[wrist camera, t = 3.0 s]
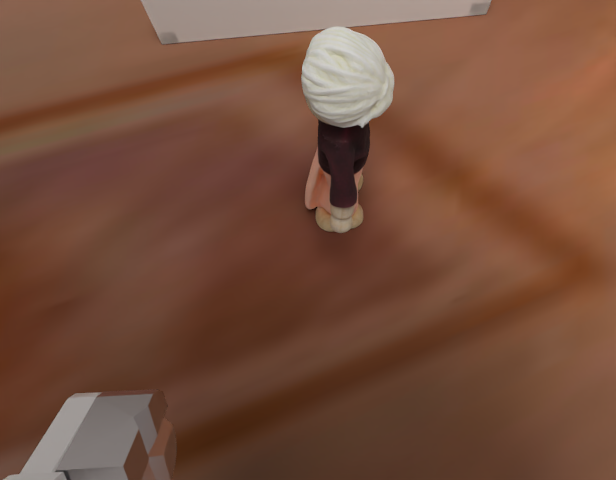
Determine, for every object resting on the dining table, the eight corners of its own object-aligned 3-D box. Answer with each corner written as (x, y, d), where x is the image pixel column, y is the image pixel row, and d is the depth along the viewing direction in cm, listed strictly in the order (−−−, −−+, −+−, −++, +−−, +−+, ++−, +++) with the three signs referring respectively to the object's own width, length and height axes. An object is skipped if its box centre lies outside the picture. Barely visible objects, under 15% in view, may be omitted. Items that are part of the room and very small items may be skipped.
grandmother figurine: (299, 151, 28) (273, -31, 17) (361, 143, 28) (380, -45, 17) (313, 272, 26) (294, 158, 14) (382, 263, 26) (422, 142, 14)
